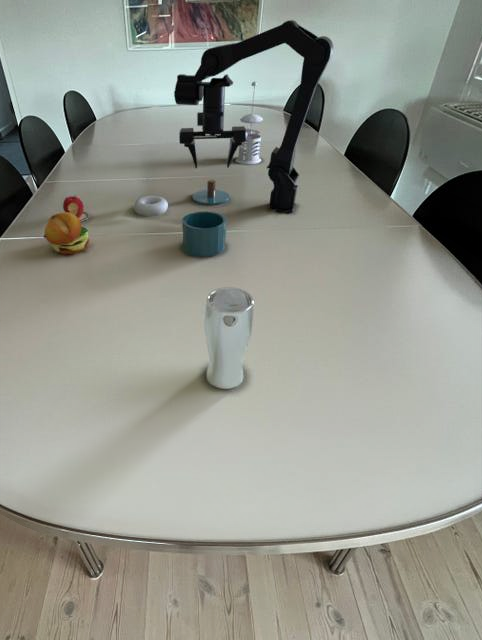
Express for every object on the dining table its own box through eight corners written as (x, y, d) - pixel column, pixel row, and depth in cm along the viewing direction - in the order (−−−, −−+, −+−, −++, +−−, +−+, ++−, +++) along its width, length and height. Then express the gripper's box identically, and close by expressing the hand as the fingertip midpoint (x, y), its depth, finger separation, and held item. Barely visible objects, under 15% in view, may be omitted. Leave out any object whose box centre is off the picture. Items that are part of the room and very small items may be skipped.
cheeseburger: (99, 239, 106) (89, 206, 98) (81, 267, 101) (69, 234, 93) (65, 234, 109) (52, 201, 101) (46, 261, 103) (31, 229, 95)
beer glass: (200, 363, 69) (202, 287, 59) (241, 360, 70) (249, 284, 60) (206, 393, 64) (209, 315, 54) (250, 389, 64) (260, 311, 54)
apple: (95, 217, 118) (91, 194, 113) (73, 226, 113) (68, 203, 109) (79, 210, 122) (74, 188, 118) (56, 219, 118) (51, 196, 113)
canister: (229, 241, 104) (231, 214, 99) (217, 259, 96) (218, 231, 92) (191, 235, 107) (191, 209, 102) (176, 253, 100) (176, 226, 95)
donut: (130, 218, 117) (164, 219, 115) (128, 206, 115) (163, 207, 113) (139, 205, 124) (171, 205, 122) (138, 193, 122) (170, 194, 120)
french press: (265, 158, 155) (273, 80, 139) (252, 167, 148) (260, 85, 132) (242, 155, 159) (247, 78, 143) (228, 163, 152) (232, 83, 136)
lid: (233, 195, 127) (234, 176, 124) (223, 208, 120) (224, 189, 116) (199, 191, 131) (199, 173, 127) (187, 204, 123) (187, 185, 119)
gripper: (245, 99, 114) (241, 158, 125) (179, 101, 115) (180, 160, 125) (249, 107, 106) (245, 170, 116) (178, 109, 107) (180, 171, 117)
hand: (212, 167), depth 119 cm, fingers open, 9 cm apart
